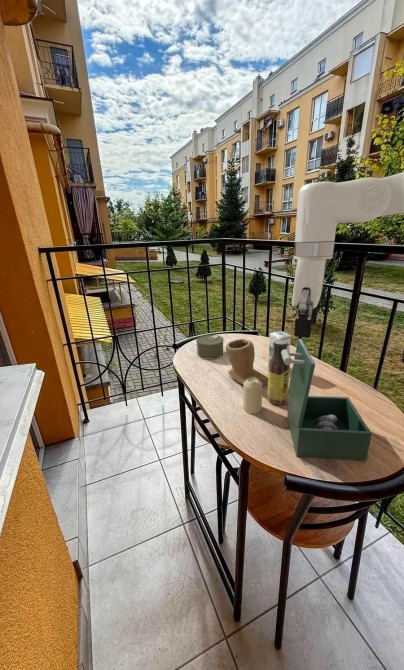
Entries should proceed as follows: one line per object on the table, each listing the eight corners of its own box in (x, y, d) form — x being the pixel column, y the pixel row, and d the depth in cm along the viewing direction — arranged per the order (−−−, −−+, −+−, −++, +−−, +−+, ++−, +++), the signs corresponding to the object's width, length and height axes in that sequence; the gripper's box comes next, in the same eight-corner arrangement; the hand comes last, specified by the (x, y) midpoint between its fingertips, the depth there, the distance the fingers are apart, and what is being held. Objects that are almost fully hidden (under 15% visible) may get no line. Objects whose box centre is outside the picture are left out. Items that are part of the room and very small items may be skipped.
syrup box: (289, 369, 108) (291, 334, 103) (277, 373, 106) (279, 337, 101) (279, 364, 113) (281, 330, 108) (267, 367, 110) (269, 333, 105)
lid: (301, 339, 72) (279, 337, 72) (315, 364, 58) (289, 361, 59) (290, 393, 78) (270, 391, 78) (301, 428, 64) (277, 425, 65)
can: (191, 355, 124) (190, 341, 121) (206, 346, 133) (206, 333, 131) (214, 361, 117) (213, 346, 115) (228, 351, 126) (228, 337, 124)
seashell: (322, 425, 78) (325, 451, 69) (310, 410, 77) (312, 435, 68) (340, 418, 75) (345, 444, 66) (328, 403, 75) (332, 427, 66)
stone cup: (220, 375, 106) (219, 338, 100) (246, 368, 111) (246, 332, 105) (243, 394, 93) (243, 353, 88) (271, 385, 98) (273, 345, 93)
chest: (344, 421, 78) (348, 397, 76) (366, 461, 65) (371, 433, 62) (287, 418, 80) (288, 395, 78) (296, 456, 67) (299, 429, 64)
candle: (259, 415, 82) (261, 385, 79) (241, 411, 84) (241, 382, 81) (262, 404, 87) (264, 376, 84) (245, 401, 89) (245, 373, 86)
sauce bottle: (286, 407, 85) (291, 347, 78) (265, 404, 87) (268, 345, 80) (287, 396, 91) (292, 339, 84) (268, 393, 93) (271, 337, 86)
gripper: (301, 248, 66) (295, 317, 72) (285, 254, 52) (280, 340, 58) (335, 248, 63) (326, 320, 69) (329, 254, 48) (319, 345, 54)
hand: (305, 329), depth 63 cm, fingers open, 9 cm apart
